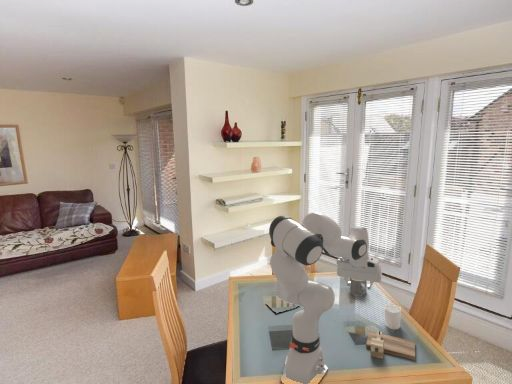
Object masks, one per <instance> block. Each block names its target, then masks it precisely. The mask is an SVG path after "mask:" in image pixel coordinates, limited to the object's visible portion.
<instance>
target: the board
mask: <svg viewBox="0 0 512 384" xmlns="http://www.w3.org/2000/svg"><path fill="white" fill-rule="evenodd" d="M377 334H378V332H374V331H370V330H369V331H368V333H367V338H366V344H365V348H366V349H370V350H371V340H372V338H375V339H377ZM381 340H383V341H384V353H386V354H390V355H393V356H397V357H402V358H405V359H409V360H413V361H416V341H414V340H410V339H405V338H400V337H397V336H394V335H393V336H392V335H388V334H383V333H382V335H381Z"/></svg>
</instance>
